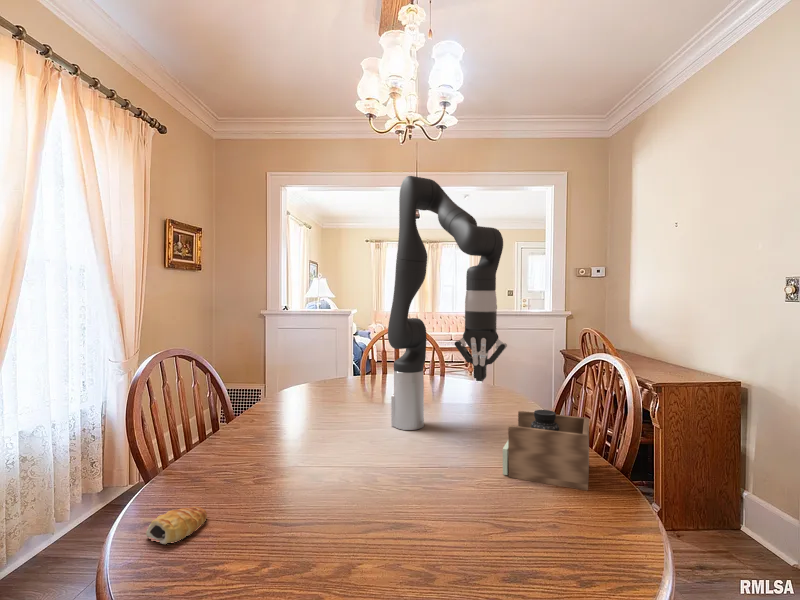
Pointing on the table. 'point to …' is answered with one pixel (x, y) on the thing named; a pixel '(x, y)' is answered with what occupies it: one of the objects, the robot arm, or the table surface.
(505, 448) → the drawer
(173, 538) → the pastry
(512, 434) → the caddy
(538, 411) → the pill bottle
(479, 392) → the table surface
